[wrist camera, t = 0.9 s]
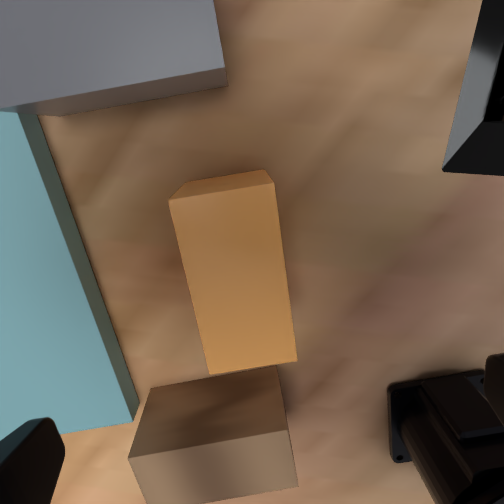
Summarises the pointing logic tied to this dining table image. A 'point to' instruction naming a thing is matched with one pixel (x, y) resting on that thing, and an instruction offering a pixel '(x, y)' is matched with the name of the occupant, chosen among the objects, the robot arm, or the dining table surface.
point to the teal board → (50, 300)
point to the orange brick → (235, 269)
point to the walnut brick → (214, 440)
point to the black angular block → (481, 101)
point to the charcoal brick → (105, 53)
